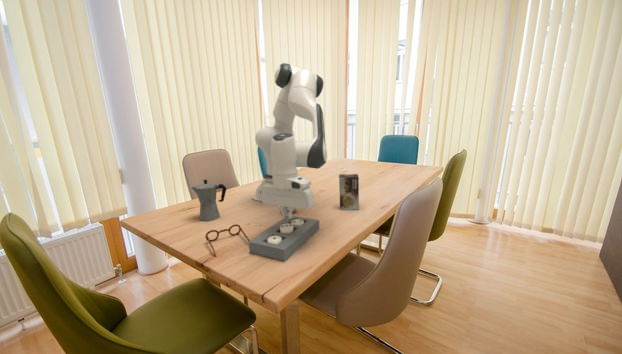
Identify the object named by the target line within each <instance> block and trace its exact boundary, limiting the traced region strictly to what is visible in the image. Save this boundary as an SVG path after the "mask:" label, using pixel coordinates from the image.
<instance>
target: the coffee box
mask: <svg viewBox="0 0 622 354" xmlns="http://www.w3.org/2000/svg"><path fill="white" fill-rule="evenodd" d="M338 178H339V180H338V182H339V185H338V186H339V211H342V210H345V211H348V210H349V211H354V210H356V211H357V210H358V211H359V209H360V207H359V206H360V205H359V204H360V203H359V200H360V198H359V197H360V196H359V195H360V194H359V190H360V188H359V186H360V185H359V183H360V182H359V180H360V179H359V173H350V174H349V173H347V174H345V173H343V174H339V175H338Z"/></svg>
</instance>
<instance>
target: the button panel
mask: <svg viewBox="0 0 622 354" xmlns="http://www.w3.org/2000/svg"><path fill="white" fill-rule="evenodd" d="M295 219H301V220H303V221H304V224H302V225H301V226H298V225H293V232H292V233H291V234H290V235H289V234H284V233H280V226H281V225H282V224H286V223H289V224H291V221H292V220H295ZM319 230H320V219H316V218H310V217H304V216H298V215H292V218H291V219H289V218H282V219H281V220H279V221H278V222H276V223H274V224H273V225H271V226H270V227H268V228H267V229H265V230H264V231H262V232H261V233H260V234H258V235H256V236H255V237H254V238H252V239H251V240H250V241H249V242H248V249H249V253H250V254H254V255H258V256H262V257H267V258H271V259H274V260H278V261H283V262H286V261H287V260H288V259H289V258H291V256H293V255H294V253H296V252H297V250H299V249H301V247H302V246H303V245H304V244H305V243H307V241H308V240H310V239H311V238H312V237H313V236H314V234H316V233H317V232H318V231H319ZM271 236H280V237H281V238H282V241H281V242H280V243H279V244H277V245H276V244H272V243H268V241H267V239H268V238H269V237H271Z"/></svg>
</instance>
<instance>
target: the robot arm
mask: <svg viewBox="0 0 622 354" xmlns="http://www.w3.org/2000/svg"><path fill="white" fill-rule="evenodd" d="M274 83H275V85H276V86H277V87H279V88H281V89H280V91H279V93H278V96H277V99H276V102H275V105H274V106H273V107H274V108H273V110H272V116H273V117H274V125H273V126H270V127H268V126H267V127H264V128H262V129H260V130H258V131H257V132H256V134H255V138H254V139H255V140H254V141H255V143H256V145H257V146H258V147H259V149H261V151H262V152H263V155H264V157H265V161H266V171H267V173H266V174H264V175H263V178H264V179H263V180H262V181H261V183H260V184H259V185H258V186H257V187H256V190H255V191H256V192H255V194H254V195H253V196H252V197H251V199H252V200H254V201H258V202H261V203H262V204H263V205H267V206H268V205H269V206H277V207H279V210H280V211H281V214H282V219H284V218H289V219H291V218H292V216H293V212H294V211H295V210H296V209H300V210H307V211H309V210H310V209H312V208H313V207H314V205H315V197H314V192H313V188H312V187H311V185H312V180H311V179H310V178H307V177H305V176H303V175H300V174H299V173H298V168H309V169H317V170H318V169H320V168H321V167H323V166H324V165H325V164H326V163H327V160H328V150H327V145H326V133H325V122H324V113H323V108H322V106H321V104H319V103H318V102H317V98H319V96H320V95H321V93H322V91H323V88H324V80H323V78H322V77H321V76H319V74H315V73H314V72H312V71H311V70H309V69H305V68H301V67H299V66H294V65H291V64H289V63H281V64H280V65H278V67H277V69H276V70H275V73H274ZM296 116H297V117H299V118H301V119H304V120H307V121H309V122H311V123H312V139H310V140H303V141H302V140H301V141H300V140H295V133H294V130H293V127H294V120H295V117H296ZM285 207H288V210H290V211H289V212H287V211H286V209H285Z"/></svg>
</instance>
